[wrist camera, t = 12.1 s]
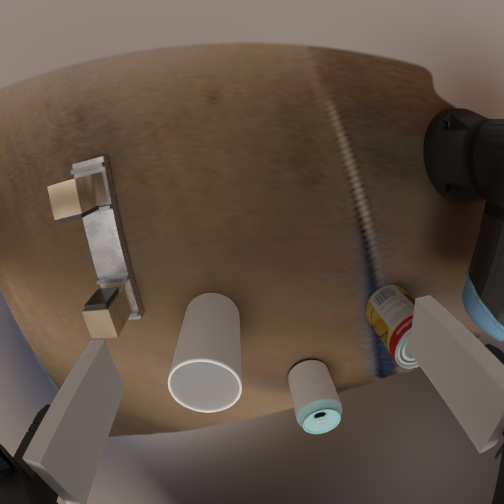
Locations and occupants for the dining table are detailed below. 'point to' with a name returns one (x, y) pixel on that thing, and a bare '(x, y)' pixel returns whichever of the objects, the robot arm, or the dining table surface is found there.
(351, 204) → the dining table surface
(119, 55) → the dining table surface
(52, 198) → the block
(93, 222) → the rail
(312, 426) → the can
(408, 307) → the canned food
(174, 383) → the cup
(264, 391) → the dining table surface
